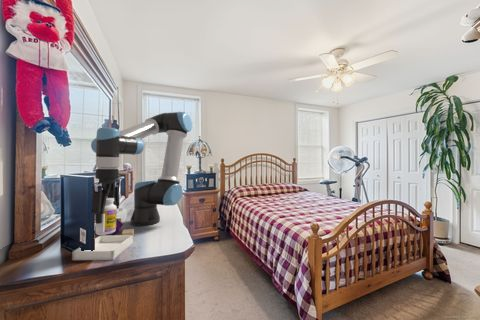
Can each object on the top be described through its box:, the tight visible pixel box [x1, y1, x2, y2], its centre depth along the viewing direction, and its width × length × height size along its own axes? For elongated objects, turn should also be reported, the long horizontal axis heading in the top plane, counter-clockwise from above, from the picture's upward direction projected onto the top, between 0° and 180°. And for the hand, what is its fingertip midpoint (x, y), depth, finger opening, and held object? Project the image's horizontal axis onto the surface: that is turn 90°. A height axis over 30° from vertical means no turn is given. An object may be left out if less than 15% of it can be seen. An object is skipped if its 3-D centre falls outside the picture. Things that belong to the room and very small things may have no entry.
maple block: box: [121, 228, 135, 236], centre depth 91 cm, size 4×4×4 cm
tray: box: [71, 234, 135, 261], centre depth 80 cm, size 16×14×3 cm
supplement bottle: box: [94, 198, 118, 236], centre depth 80 cm, size 7×7×13 cm
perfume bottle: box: [105, 217, 124, 236], centre depth 98 cm, size 8×8×18 cm
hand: (106, 228), depth 80 cm, fingers closed on supplement bottle, 7 cm apart
